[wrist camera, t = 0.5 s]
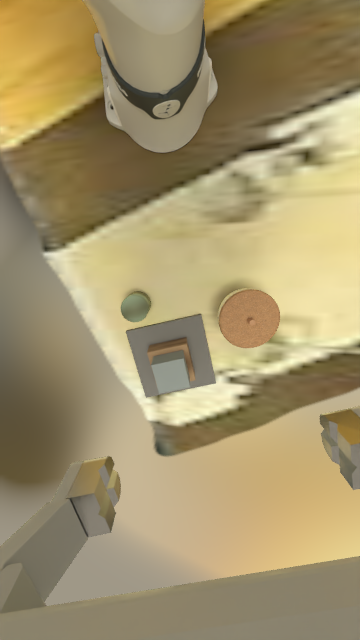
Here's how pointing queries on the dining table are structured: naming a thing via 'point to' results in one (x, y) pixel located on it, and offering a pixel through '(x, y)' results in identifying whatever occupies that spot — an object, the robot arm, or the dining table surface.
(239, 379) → the dining table surface
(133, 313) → the olive green cylinder
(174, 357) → the tower top
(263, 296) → the lidded jar
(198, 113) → the robot arm
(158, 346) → the block
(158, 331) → the mat
